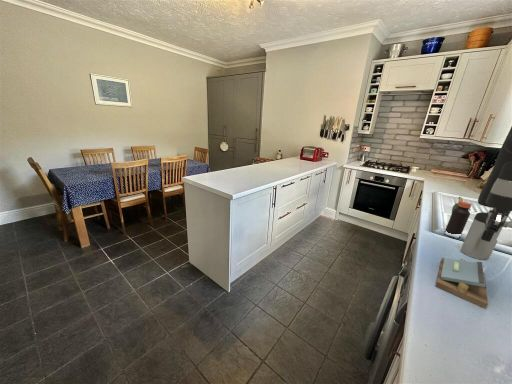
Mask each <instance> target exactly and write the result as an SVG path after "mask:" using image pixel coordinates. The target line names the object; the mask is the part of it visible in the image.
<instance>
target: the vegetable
mask: <svg viewBox="0 0 512 384" xmlns="http://www.w3.org/2000/svg"><path fill="white" fill-rule="evenodd" d="M457 199H458V201H457V203H456V202H455V203H454V204H453V206H452V209H451V213H452V212H453V210H454V209H456V208H458V203H459V201H463V202H464V200H463V197H462V196H459V197H458V198H457Z"/></svg>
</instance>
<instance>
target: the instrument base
mask: <svg viewBox="0 0 512 384" xmlns="http://www.w3.org/2000/svg"><path fill="white" fill-rule="evenodd" d="M444 258H445V257H441V260H440V263H439V267H438V272H437V276H436V282H435V287H436V288H438V289H441V290H442V291H445V292H447V293H450V294H452V295H454V296H456V297H459V298H460V299H463V300H465V301H467V302H469V303H472V304H473V305H476V306H478V307H480V308H482V309H487V308H488V305H489V300H488V292H487V285H486V278H485V276H486V275H484V281H485V287H482V286H476V285H470V284H465V283H459V282H453V281H447V280H442V279H441V274H442V268H443V263H444ZM459 260H463V261H467V260H466V259H464V258H461V259H459ZM483 273H484V274H485V272H484V271H483Z"/></svg>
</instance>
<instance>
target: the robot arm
mask: <svg viewBox="0 0 512 384" xmlns="http://www.w3.org/2000/svg"><path fill="white" fill-rule="evenodd" d="M477 203H478V205H480V206H483V207H488V208H491V209H489V210H488V212H484V211H483V212H482V211H481V212H477V213H476V214H475V215H474V218H473V220H472V223H471V224H470V228H469V229H468V232H467V234H466V236H465V238H464V240H463V243H462V245H461V247H460V249H461V250H460V251H461V253H463V254H464V253H465V255H466V256H469V257H471V258H472V259H473V258H474V259H477V260H482V261H486V260H487V259H490V257H491V256H492V254H493V251H494V250H495V247H496V246H497V243H498V238H499V236H500V234H501V232H502V231H503V227H504V225H505V223H506V221H507V219H508V217H509V215H510V214H511V212H512V126H511V127H510V129H509V131H508V133H507V136H506V137H505V139H504V141H503V144H502V146H501V147H500V150H499V153H498V155H497V158H496V159H495V162H494V165H493V167H492V169H491V172H490V174H489V176H488V179H486V182H485V184H484V186H483V187H482V189H481V191H480V193H479V195H478V199H477Z"/></svg>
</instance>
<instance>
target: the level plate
mask: <svg viewBox="0 0 512 384" xmlns="http://www.w3.org/2000/svg"><path fill="white" fill-rule="evenodd" d="M443 258H444V263H443V268H442V274H441V279H442V280H447V281H453V282H459V283H465V284H470V285H476V286H482V287H485V283H486V280H485V281H484V276H485V272H484V268H483V267H484V266H483V262H482V261H471V260H470V261H469V260H466V261H463V260H464V259H463V260H460V259H453V258H445V257H443ZM483 272H484V273H483Z"/></svg>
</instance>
